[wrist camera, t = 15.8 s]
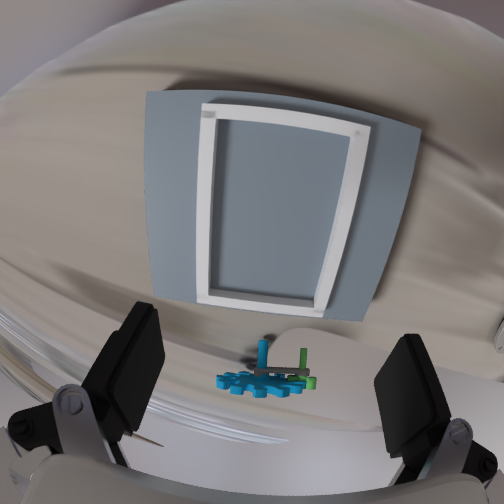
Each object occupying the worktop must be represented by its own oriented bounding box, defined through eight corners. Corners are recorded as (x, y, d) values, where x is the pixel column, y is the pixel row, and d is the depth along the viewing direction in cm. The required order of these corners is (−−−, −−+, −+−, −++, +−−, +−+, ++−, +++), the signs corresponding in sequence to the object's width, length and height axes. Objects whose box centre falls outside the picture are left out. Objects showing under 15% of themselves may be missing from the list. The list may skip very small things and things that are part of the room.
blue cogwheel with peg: (222, 378, 33) (206, 398, 23) (224, 335, 34) (209, 340, 25) (307, 383, 32) (323, 404, 23) (310, 339, 34) (328, 345, 24)
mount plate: (407, 126, 18) (428, 130, 15) (356, 305, 27) (364, 328, 24) (159, 92, 18) (140, 91, 15) (162, 281, 27) (150, 302, 24)
